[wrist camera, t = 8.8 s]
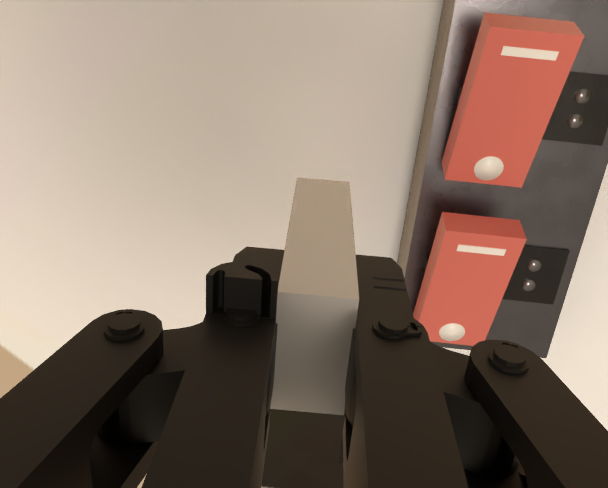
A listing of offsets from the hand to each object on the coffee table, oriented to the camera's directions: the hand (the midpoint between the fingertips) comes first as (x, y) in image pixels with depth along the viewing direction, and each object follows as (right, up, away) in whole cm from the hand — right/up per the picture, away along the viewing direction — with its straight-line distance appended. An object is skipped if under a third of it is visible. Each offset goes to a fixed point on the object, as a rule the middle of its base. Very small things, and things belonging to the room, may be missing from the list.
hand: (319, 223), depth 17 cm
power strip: (+14, +5, +26) cm, 30 cm away
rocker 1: (+12, +8, +18) cm, 22 cm away
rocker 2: (+10, -3, +22) cm, 25 cm away
